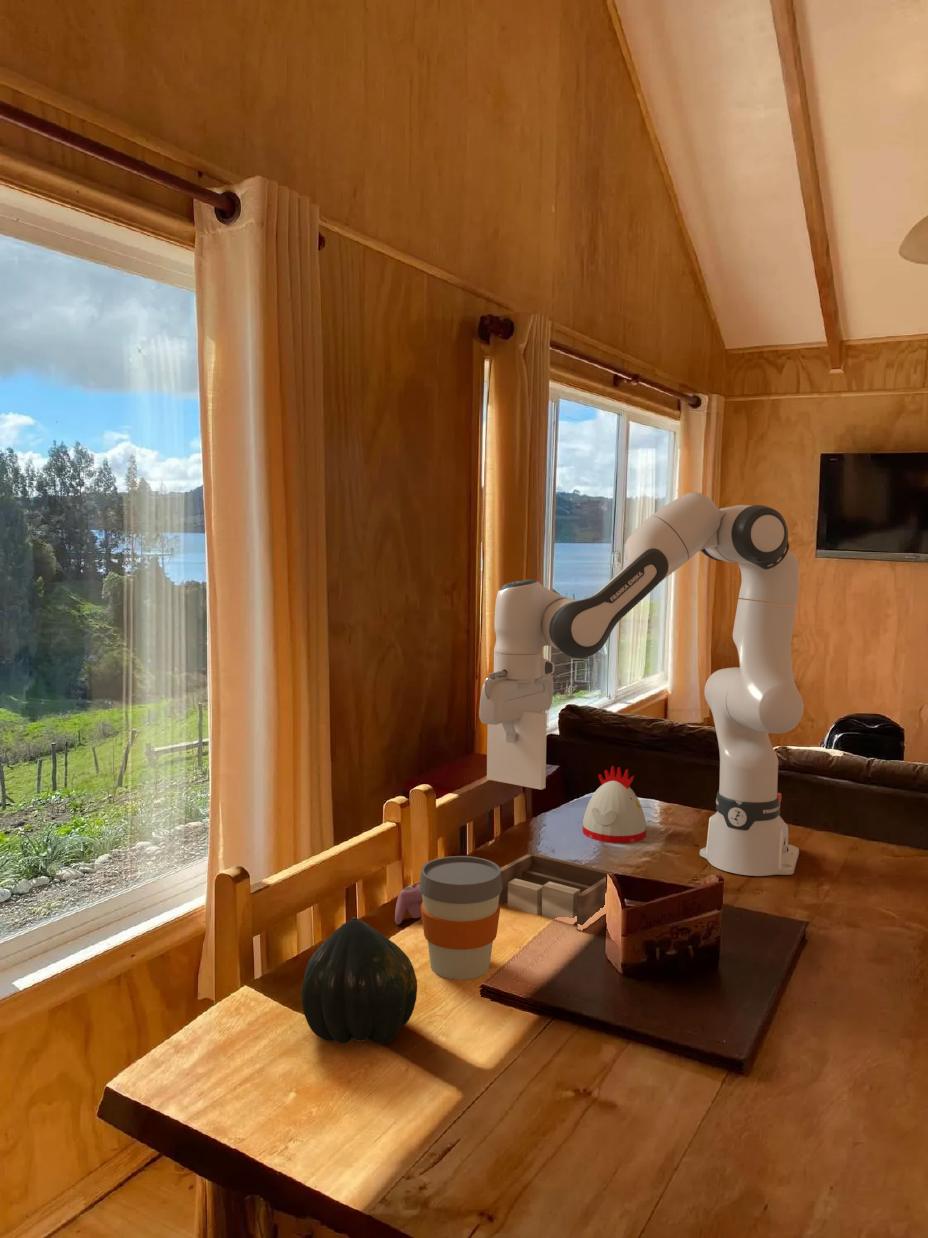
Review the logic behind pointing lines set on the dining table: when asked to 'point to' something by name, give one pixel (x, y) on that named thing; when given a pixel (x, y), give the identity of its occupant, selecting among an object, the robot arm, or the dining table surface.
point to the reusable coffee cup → (460, 914)
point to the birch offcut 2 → (559, 901)
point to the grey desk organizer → (559, 880)
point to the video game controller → (408, 903)
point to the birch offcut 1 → (525, 896)
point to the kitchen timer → (614, 811)
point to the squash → (358, 986)
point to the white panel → (519, 752)
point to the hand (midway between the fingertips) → (516, 740)
